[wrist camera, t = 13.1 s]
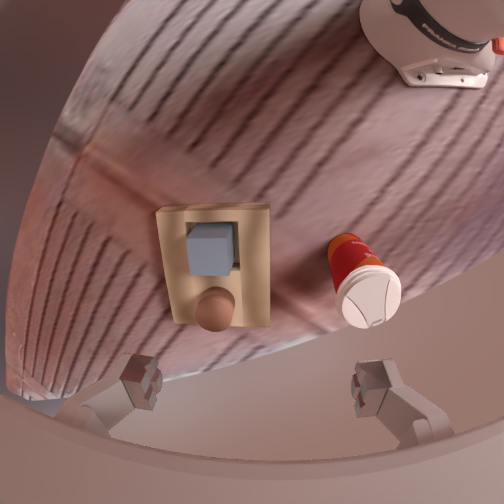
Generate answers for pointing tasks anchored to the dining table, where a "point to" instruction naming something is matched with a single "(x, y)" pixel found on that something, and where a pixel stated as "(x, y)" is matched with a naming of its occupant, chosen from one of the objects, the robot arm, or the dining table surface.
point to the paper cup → (362, 283)
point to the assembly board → (218, 287)
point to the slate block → (211, 249)
